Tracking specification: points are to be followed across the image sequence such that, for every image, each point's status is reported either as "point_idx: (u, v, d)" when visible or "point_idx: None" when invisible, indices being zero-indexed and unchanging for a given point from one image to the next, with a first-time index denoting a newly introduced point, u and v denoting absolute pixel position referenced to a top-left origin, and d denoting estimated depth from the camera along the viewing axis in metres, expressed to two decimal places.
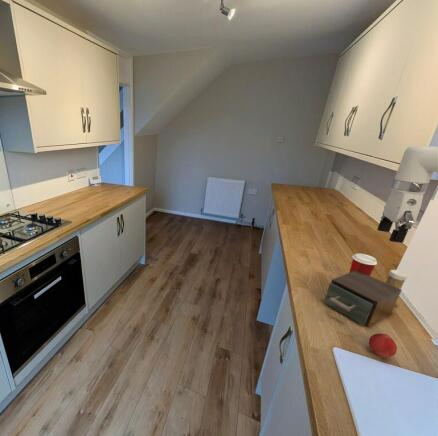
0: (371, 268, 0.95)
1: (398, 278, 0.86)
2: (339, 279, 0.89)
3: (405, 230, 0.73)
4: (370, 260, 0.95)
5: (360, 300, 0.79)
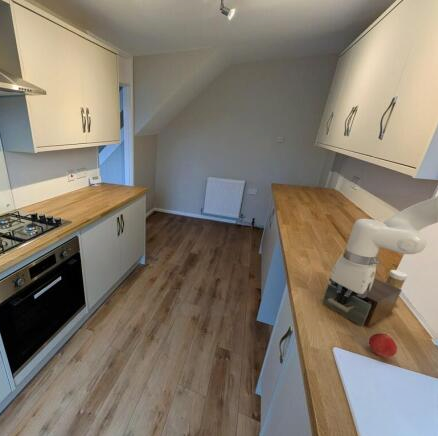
0: None
1: (398, 278, 0.86)
2: None
3: None
4: None
5: (358, 301, 0.79)
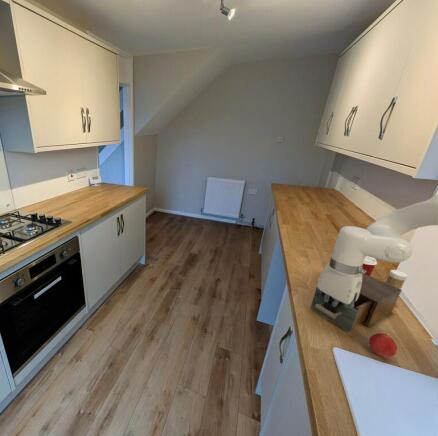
0: (371, 268, 0.95)
1: (398, 278, 0.86)
2: None
3: None
4: (370, 260, 0.95)
5: (346, 307, 0.76)
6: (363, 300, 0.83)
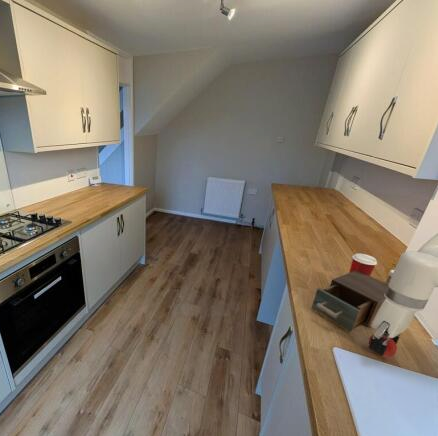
0: (371, 268, 0.95)
1: None
2: (339, 279, 0.89)
3: None
4: (370, 260, 0.95)
5: (347, 306, 0.76)
6: (364, 299, 0.84)
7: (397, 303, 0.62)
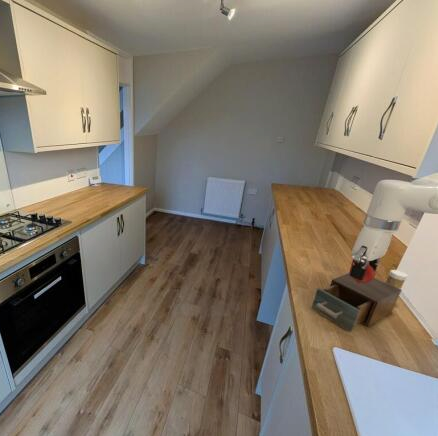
0: None
1: (398, 278, 0.86)
2: (339, 279, 0.89)
3: None
4: None
5: (347, 306, 0.76)
6: (364, 299, 0.84)
7: (373, 227, 0.68)
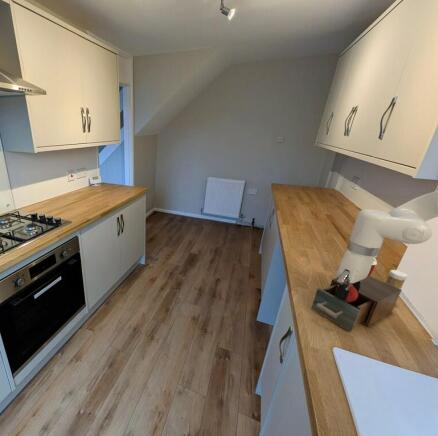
0: (371, 268, 0.95)
1: (398, 278, 0.86)
2: None
3: None
4: None
5: (347, 306, 0.76)
6: (364, 299, 0.84)
7: (355, 253, 0.74)
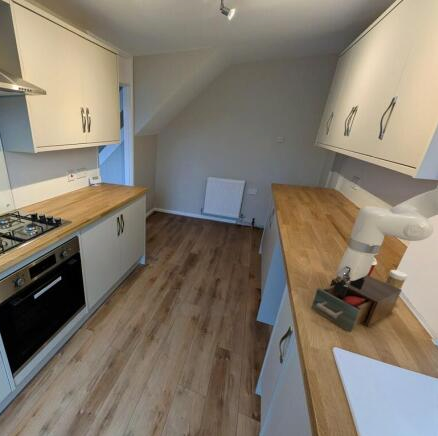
0: (371, 268, 0.95)
1: (398, 278, 0.86)
2: None
3: None
4: None
5: (347, 306, 0.76)
6: None
7: (356, 250, 0.73)
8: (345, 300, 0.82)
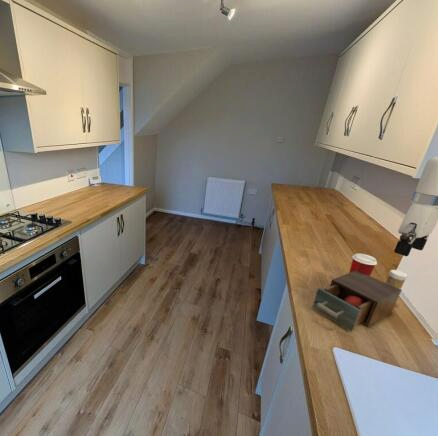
0: (371, 268, 0.95)
1: (398, 278, 0.86)
2: (339, 279, 0.89)
3: None
4: (370, 260, 0.95)
5: (348, 306, 0.77)
6: (364, 299, 0.84)
7: (424, 204, 0.69)
8: (349, 296, 0.84)
